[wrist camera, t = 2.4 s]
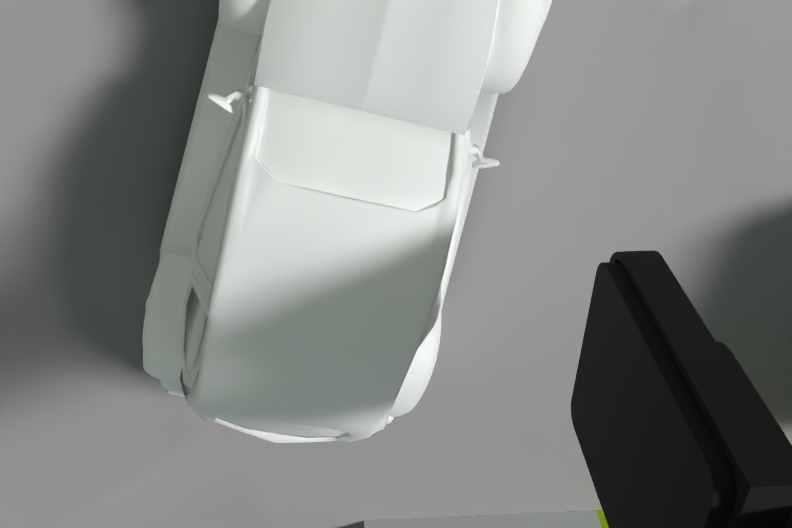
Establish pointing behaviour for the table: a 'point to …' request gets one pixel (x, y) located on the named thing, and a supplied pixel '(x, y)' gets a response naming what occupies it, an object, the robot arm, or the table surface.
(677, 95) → the table surface
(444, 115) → the car
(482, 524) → the puzzle toy
